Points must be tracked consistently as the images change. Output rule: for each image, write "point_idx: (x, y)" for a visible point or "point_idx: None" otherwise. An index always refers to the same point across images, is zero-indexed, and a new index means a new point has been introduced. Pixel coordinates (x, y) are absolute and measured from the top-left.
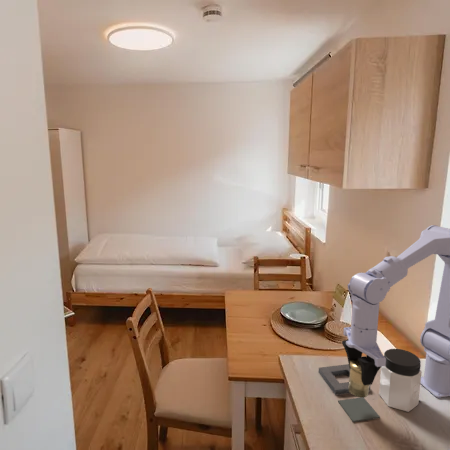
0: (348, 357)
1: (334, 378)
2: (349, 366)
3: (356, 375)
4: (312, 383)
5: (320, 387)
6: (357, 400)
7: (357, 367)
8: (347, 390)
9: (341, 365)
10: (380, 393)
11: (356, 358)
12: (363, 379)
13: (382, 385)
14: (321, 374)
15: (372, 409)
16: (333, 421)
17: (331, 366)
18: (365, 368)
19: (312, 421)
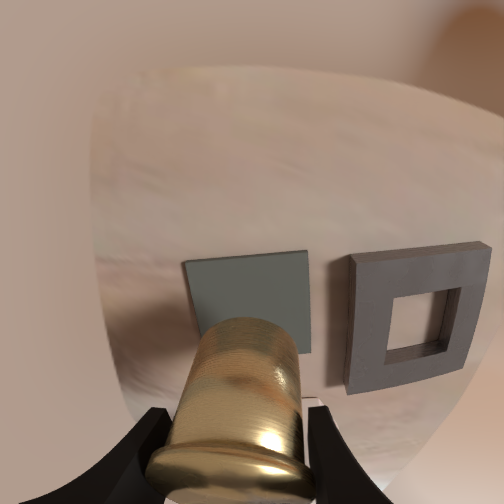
0: (340, 478)
1: (424, 288)
2: (325, 420)
3: (181, 423)
4: (433, 185)
5: (406, 210)
6: (296, 327)
7: (192, 476)
8: (351, 313)
9: (470, 338)
10: (310, 404)
11: (320, 497)
12: (131, 432)
13: (305, 432)
14: (465, 245)
15: None
16: (193, 185)
17: (481, 301)
18: (46, 496)
19: (198, 97)
